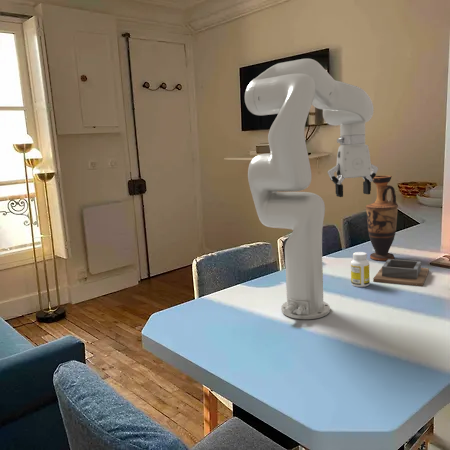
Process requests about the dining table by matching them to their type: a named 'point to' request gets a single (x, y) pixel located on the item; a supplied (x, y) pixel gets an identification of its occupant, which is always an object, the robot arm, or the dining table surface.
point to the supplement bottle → (360, 270)
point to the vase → (382, 219)
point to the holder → (402, 272)
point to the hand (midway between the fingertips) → (353, 195)
